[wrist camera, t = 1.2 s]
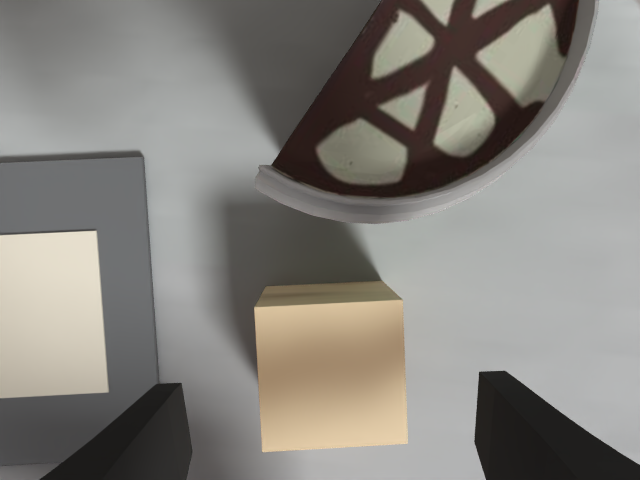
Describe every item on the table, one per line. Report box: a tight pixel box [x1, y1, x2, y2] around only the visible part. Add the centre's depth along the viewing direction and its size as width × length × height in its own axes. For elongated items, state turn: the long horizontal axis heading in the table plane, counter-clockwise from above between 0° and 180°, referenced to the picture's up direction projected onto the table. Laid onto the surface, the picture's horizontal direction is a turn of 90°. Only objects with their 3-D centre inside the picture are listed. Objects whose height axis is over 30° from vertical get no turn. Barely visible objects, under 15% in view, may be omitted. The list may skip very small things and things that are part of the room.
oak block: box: [254, 281, 408, 452], centre depth 20 cm, size 6×6×5 cm
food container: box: [255, 0, 599, 224], centre depth 17 cm, size 12×6×10 cm, turn 146°
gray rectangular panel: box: [0, 157, 159, 466], centre depth 22 cm, size 14×12×1 cm
